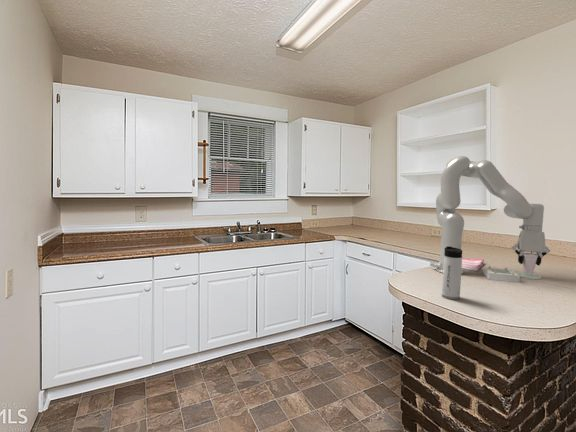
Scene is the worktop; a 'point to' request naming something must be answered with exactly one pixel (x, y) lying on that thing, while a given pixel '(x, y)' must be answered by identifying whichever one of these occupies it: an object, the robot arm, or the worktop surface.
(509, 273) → the socket block
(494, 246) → the worktop surface
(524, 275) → the coaster
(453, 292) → the travel mug
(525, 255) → the smoothie
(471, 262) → the dish towel
